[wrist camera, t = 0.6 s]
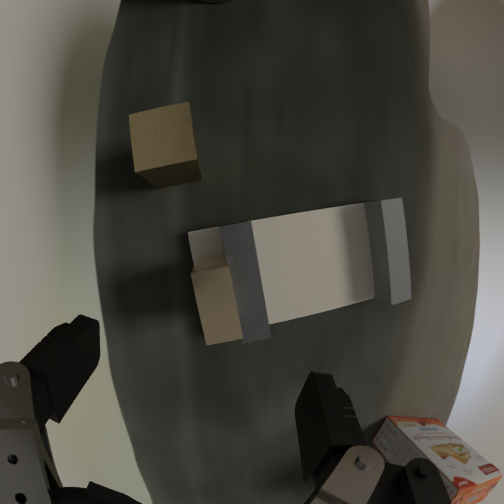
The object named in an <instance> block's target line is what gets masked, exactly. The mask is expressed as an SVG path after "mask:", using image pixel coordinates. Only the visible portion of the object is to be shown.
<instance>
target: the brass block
mask: <svg viewBox="0 0 504 504" xmlns="http://www.w3.org/2000/svg"><path fill="white" fill-rule="evenodd" d="M129 121H130V133H131V143H132V152H133V161H134V169H135V173H137V174H138V175H140V176H141V177H143V178H144V179H145V180H147V181H148V182H150V183H151V184H153V185H154V186H156V187H157V188H164V187H169V186H174V185H179V184H184V183H189V182H194V181H200V180H202V177H201V170H200V164H199V158H198V151H197V145H196V138H195V133H194V128H193V122H192V117H191V111H190V105H189V102H185V103H180V104H175V105H170V106H165V107H160V108H155V109H151V110H147V111H142V112H138V113H134V114H130V115H129Z"/></svg>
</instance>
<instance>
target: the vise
mask: <svg viewBox="0 0 504 504" xmlns="http://www.w3.org/2000/svg"><path fill="white" fill-rule="evenodd" d="M247 222H248V221H247ZM241 223H242V222H241ZM251 223H252V229H253V235H254V240H255V246H256V252H257V258H258V263H259V269H260V275H261V281H262V287H263V292H264V298H265V304H266V310H267V316H268V322H269V324H273V323H277V322H282V321H286V320H291V319H295V318H299V317H304V316H308V315H312V314H316V313H320V312H324V311H328V310H332V309H336V308H339V307H343V306H347V305H351V304H354V303H358V302H362V301H365V300H369V299H372V298H377V299H379V300H381V301H384V302H386V303H388V304H390V305H394V304H397V303H400V302H403V301H406V300H409V299H411V282H410V266H409V254H408V243H407V234H406V225H405V218H404V210H403V203H402V198H396V199H388V200H380V201H372V202H366V203H359V204H352V205H345V206H338V207H332V208H325V209H319V210H313V211H306V212H300V213H294V214H288V215H282V216H276V217H270V218H264V219H258V220H253V221H251ZM230 225H231V224H230ZM188 237H189V242H190V248H191V253H192V258H193V263H194V265H195V263H196V260H197V259H199V258H204V257H210V256H215V255H220V254H224V250H223V244H222V239H221V233H220V226H219V227H214V228H208V229H203V230H198V231H192V232H188Z"/></svg>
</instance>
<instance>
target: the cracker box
mask: <svg viewBox="0 0 504 504" xmlns="http://www.w3.org/2000/svg"><path fill="white" fill-rule="evenodd" d="M372 443H373V444H374V445H375V446H376V448H377V449H378V450H379V452H380V453H381V454H382V455H383V457H384V458H385V459H386V460H387V462H388V463H391V464H396V465H401V466H406V464H407V463H408V462H409V461H410V460H412V459H414V458H425V459H428V460H430V461H431V462H433V463H434V464H435V465H436V467H437V468H438V470H439V473H440V475H441V477H442V480H443V482H444V485H445V487H446V490H447V492H448V495H449V498H450V500H451V503H452V504H475V503H477V502H480V501H482V500H483V499H484V498H485V497H486V496H487V495H488V493H489V492H490V491H491V490H492V489H493V488H494V486H495V485H496V484H497V483H498V481H499V480H500V479H501V477H502V475H503V473H502V472H501V471H500V470H499V469H497V468H496V467H495V466H494V465H492V464H491V463H490V462H489V461H487V460H486V459H485V458H484V457H482V456H481V455H480V454H479V453H478V452H476V451H475V450H474V449H473V448H472V447H470V446H469V445H468V444H467V443H465V442H464V441H463V440H462V439H461V438H460V437H458V436H457V435H456V434H455V433H453V432H452V431H451V430H450V429H449V428H447V427H446V426H445V425H444V424H443V423H441V422H440V421H439V420H438V419H424V418H409V417H397V416H387V417H386V419H385V421H384V422H383V424H382V425H381V427H380V429H379V430H378V432H377V433H376V435H375V436H374V438H373V440H372Z"/></svg>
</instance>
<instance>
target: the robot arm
mask: <svg viewBox="0 0 504 504" xmlns="http://www.w3.org/2000/svg"><path fill="white" fill-rule="evenodd" d="M196 1H199V2H204V3H222V2H227V1H231V0H196ZM99 328H100V327H99V322H98V320H95V319H92V318H89V317H86V316H84V315H78V316H77V317H76V318H75V319H74V320H73V321H72V322H71V323H70V324H69V323H64V324H61V325H59V326H56V327H55V328H53V329H52V330H51V331H50V332H49V333H48V334H47V336H45V337H44V338H43V339H42V340H41V342H39V343H38V344H37V345H36V346H35V347H34V348H33V349H32V350H31V351H30V352H29V353H28V354H27V355H26V356H25V357H24V358H23V359H22V360H21V361H20V362H19V363H18V362H11V361H10V362H4V363H2V364H0V504H142V503H140V502H138V501H136V500H134V499H132V498H131V497H129V496H127V495H125V494H123V493H120V492H117V491H114V490H112V489H109V488H106V487H104V486H101V485H99V484H96V483H94V482H91V481H90V482H89V484H88V486H87V488H80V487H63V485H62V483H61V480H60V478H59V476H58V473H57V470H56V467H55V463H54V459H53V456H52V452H51V447H50V443H49V439H48V434H47V429H46V426H45V424H46V422H47V421H48V419H51V420H53V421H55V422H57V423H60V422H61V420H62V418H63V417H64V415H65V414H66V412H67V411H68V409H69V408H70V406H71V404H72V403H73V401H74V400H75V398H76V397H77V395H78V394H79V392H80V391H81V389H82V388H83V386H84V385H85V383H86V382H87V380H88V379H89V377H90V376H91V375H92V373H93V371H94V370H95V369H96V367H97V365H98V362H99V359H100V331H99V330H100V329H99ZM295 419H296V427H297V434H298V441H299V448H300V456H301V463H302V471H303V478H304V483H315V486H316V489H315V491H314V492H313V493H312V494H311V495H310V497H309V498H308V499H307V500H306V502H305V503H304V504H452V503H451V500H450V498H449V495H448V492H447V490H446V487H445V485H444V482H443V480H442V477H441V475H440V473H439V470H438V468H437V467H436V465H435V464H434V463H433V462H431V461H430V460H428V459H425V458H414V459H412V460H410V461H409V462H408V463H407V464H406V466H401V465H396V464H391V463H386V462H384V460H383V458H382V456H381V455H380V454H379V453H378V452H377V451H376V450H375V449H373V448H371V447H368V446H367V445H366V442H365V439H364V436H363V433H362V430H361V428H360V425H359V422H358V419H357V417H356V413H355V411H354V409H353V405H352V402H351V400H350V397H349V396H348V395H347V394H346V392H345V391H344V390H343V389H342V388H338V387H336V385H335V382H334V379H333V376H332V375H331V374H329V373H321V372H313V371H312V372H310V374H309V375H308V377H307V380H306V382H305V384H304V386H303V389H302V391H301V393H300V395H299V397H298V399H297V402H296V406H295Z"/></svg>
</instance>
